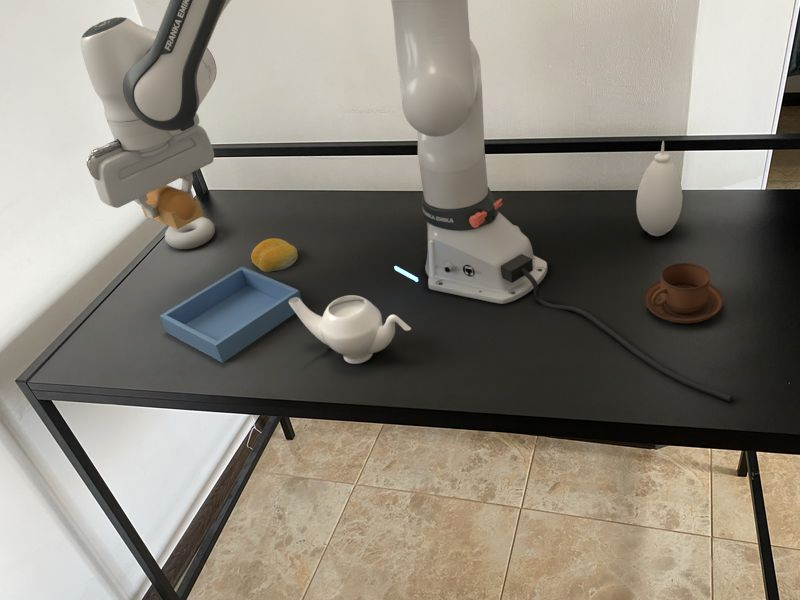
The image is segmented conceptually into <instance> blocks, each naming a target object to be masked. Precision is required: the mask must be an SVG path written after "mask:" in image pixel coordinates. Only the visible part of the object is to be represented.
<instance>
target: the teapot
mask: <svg viewBox="0 0 800 600" xmlns="http://www.w3.org/2000/svg"><path fill="white" fill-rule="evenodd" d="M289 304H290V306H291V307H292V309H293V310H294V312H295V314H296V316H297V317H298V319H299V320H300V321H301V322H302V324H303V325H304V326H305V327H306V329H307V330H308V331H309V332H310V333H311V334H312V335H313V336H314V337H315V338H316V339H318V340H319V341H320V342H321V343H323V344H324V345H326V346H328V347H329V348H330V349H332V350H333V351H334V352H336V353H337V354H340V355H342V357H343V361H345V362H347V363H348V364H353V365H356V364H362V363H365V362H367V361H368V360H370V359H371V358H372V356H373V354H376V353H379V352H381V351H384V350H385V349H386V348H388V346H389V345H390V344H391V343H392V341H393V339H394V338H395V334H396V324H397V325H398V326H399V327H401V328H402V330H404V331H406V332H409V331H410V330H412V327H411V326H409V325H408V323H406V322H405V321H404V320H403V319H402V318H400V317H399V316H398V315H396V314H394V313H393V314H390V315H389V316H387V318H386V320H385V323H384V320H383V316H382V313H381V311H380V310H379V308H378V307H377V306H376V305H375V304H373V303H372V302H371V301H370V300H368V299H367V298H365V297H363V296H360V295H354V294H353V295H350V294H349V295H344V296H341V297H337V298H336V299H334V300H332V301H331V302H330V303H329V304H328V305H327V306H326V308H325V310H324V312H323V314H322V315H319V314H317V313H316V312H313V311H312V310H311V309H310V308H309V307H308V306H307V305H306V304H305V303H304V302H303V300H302V301H301V300H300V299H299V298H297V297H295V298H291V299H290V300H289Z"/></svg>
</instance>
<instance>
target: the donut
mask: <svg viewBox="0 0 800 600" xmlns="http://www.w3.org/2000/svg"><path fill="white" fill-rule="evenodd" d="M215 233H216V228H215V224H214V223H213V221H212V220H210V219H209V218H207V217H205V216H202V217H200V218H198V219H196V220H194V221H193V222H191V223H189V224H187V225H185V226H183V227H181V228H179V229H175V228H173V227H170V226H168V227H167V229H166V230H165V234H164V239H165V242H166V243H167V244H168V245H169V246H170V247H171V248H174V249H177V250H190V249H195V248H198V247H201V246H203V245H205V244H206V243H209V241H210V240H211V239H213V237H214V235H215Z"/></svg>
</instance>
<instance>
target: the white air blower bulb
mask: <svg viewBox="0 0 800 600" xmlns="http://www.w3.org/2000/svg"><path fill="white" fill-rule="evenodd" d="M660 148H661V149H660V152H658V153H656V154H655V155H654V156H653V160H652V161H651V162H650V164H649V165H648V166H647V168H646V170H645V171H644V173H643V175H642V177H641V180H640V183H639V185H638V189H637V194H636V200H635V201H636V202H635V205H636V206H635V208H636V209H635V211H636V216H637V219H638V222H639V224H640V226H641V228H642V229H643V230H644V231H645V232H647V233H648V235H651V236H654V237H660V236H664V235H666V234H667V233H669V232H670V231H671V230H672V229H673V228H674V227H675V226H676V224H677V222H678V221H679V218H680V216H681V212H682V209H683V208H682V207H683V199H684V198H683V188H682V182H681V178H680V175H679V173H678V172H679V171H678V170H677V168H676V165H675V164H674V163H673V161H672V160H671V155H670V154H669V153H666V152H665V141H664V140H662V143H661V147H660Z"/></svg>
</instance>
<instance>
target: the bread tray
mask: <svg viewBox="0 0 800 600" xmlns="http://www.w3.org/2000/svg"><path fill="white" fill-rule="evenodd" d="M295 297H297V298H299V299H300V300H301V301H302V302H303V299H302V296H301V292H300V290H299V289H297V288H295V287H292V286H290V285H289V284H288V285H287V284H285V283H283V282H280V281H278V280H275V279H273V278H271V277H269V276H266V275H263V274H261V273H258V272H256V271H255V270H251V269H250V268H247V267H245V266H240V267H239V268H237V269H235V270H233V271H232V272H230V273H229V274H227V275H225V276H223V277H221V278H220V279H218V280H216V282H213V283H212V284H210V285H209V286H207V287H205V288H204V289H202V290H200V291H199V292H197V293H196V294H194V295H192V296H191V297H189V298H187V299H185V300H184V301H182V302H180V303H179V304H177V305H175V306H174V307H172V308H170V309H169V310H167V311H166V312H164V313H162V314H160V315H159V319H160V320H161V322H162V324H163V326H164V329H165V332H166V333H167V334H169V335H171V336H172V337H174V338H176V339H177V340H180V341H181V342H183V343H185V344H186V345H189V346H191V347H193V348H195V349H196V350H198V351H200V352H202V353H204V354H206V355H207V356H209V357H211V358H213V359H215V360H217V361H219V362H220V363H224V362H226V361H228V360H229V359H231V358H233V356H235V355H236V354H238V353H239V352H241V351H242V350H244V349H245V348H247V347H248V346H250V345H252V343H254V342H256V341H257V340H258V339H260V338H261V337H262V336H264V335H266V334H267V333H269V332H270V331H271V330H273V329H274V328H276V327H277V326H279V325H280V324H282V323H283V322H285V321H286V320H288V319H289V318H290V317H292V316H293V315H295V314H296V313H295V312H294V310H293V309H292V307H291V306H290V304H289V300H290V299H291V298H295Z"/></svg>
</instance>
